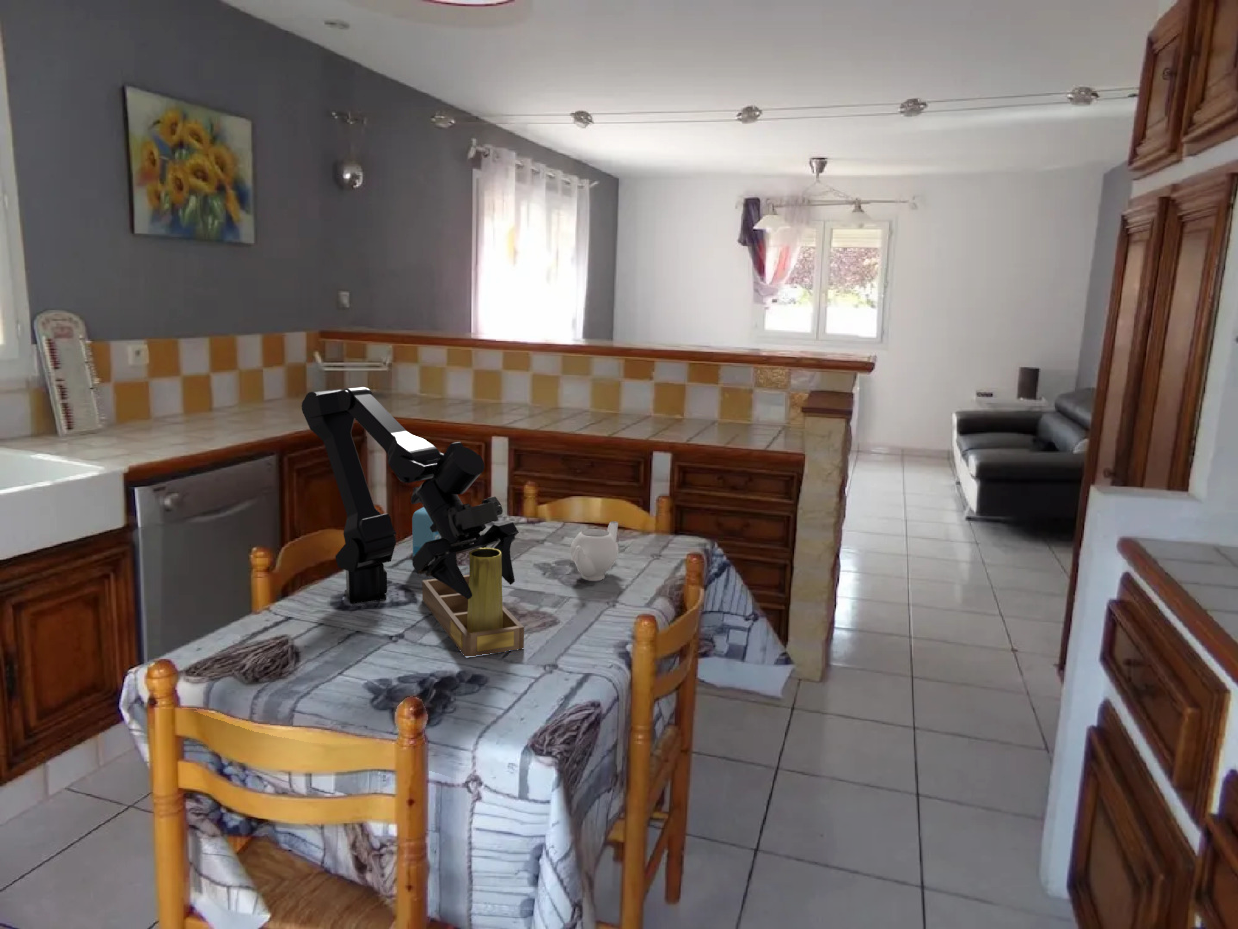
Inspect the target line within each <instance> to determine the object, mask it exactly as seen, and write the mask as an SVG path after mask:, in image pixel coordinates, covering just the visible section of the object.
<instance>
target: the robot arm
mask: <svg viewBox="0 0 1238 929" xmlns="http://www.w3.org/2000/svg"><path fill="white" fill-rule="evenodd" d="M301 412H302V414H303V417H304V419H305V420H306V423H307V425H308V427H309V430H310V431H312V432H313V433H314V434H315V435H316V436H317V437H318V438H319V439H320V440H322V442H323V444H324V448H325V450H326V453H327V457H328V459H329V460H328V461H329V463H330V466H331V469H332V472H333V475H334V478H335V481H336V486H337V489H338V491H339V494H340V496H341V497H340V498H341V501H342V504H343V507H344V509H345V513H346V516H347V517H346V519H345V520H346V522H345V525H344V530H343V538H344V545H342V546H341V548H340V550H338V552H337V553H336V554H335V558H334V559H335V561H336V566H337V568H339V569H341V570H345V582H346V583H345V586H346V587H345V588H346V589H344V594H345V596H346V599H347V600H348V602H349V604H350V605H351V604H353V605H354V604H361V603H368V602H369V603H370V602H376V601H377V602H378V601H385V600H387V593H388V572H387V570H386V569H385V568H384V567H385V565H384V564H385V563H390V562H392V558H393V555H394V552H395V547H396V545H397V540H396V535H397V532H396V530H395V529H394V527H393V523H392V522H393V521H392V518H391V516H390V514H389V513H381V512H380V511H379V510H378V509H377V508H376V507H375V504H374V500H373V499H372V495H371V492H370V489H369V485H368V482H367V480H366V476H365V473H364V470H363V467H362V464H361V461H360V458H359V454H358V451H357V449H356V445H355V442H354V439H353V435H352V430H353V427H354V421H356V422H357V423H358V424H359V425H360V426H361V427H362V428H363V429H364V430H365V431H366V432H367V433H368V434H369V436H371V437H372V438H373V439H374V441H375V442H376V443H377V444H378V445H379V446H380V447H381V448H382V449H383V450H384V451H385V453H386V455H387V464H388V466H389V468H390V469H391V470H392V472H393V473H394V474H395V476H396V477H397V479H398V480H399V481H400V482H401V483H404V484H408V483H415V482H419V481H423V482H422V483H421V485H420V486H416V487H413V488H412V495H411V497H410V503H411V505H415V504H420V503H421V504H422V506H423V507H424V508H425V510H426V512H427V513H428V515H429V517H430V519H431V520H432V522H433V524H432V526H431V527H430V529H431V531H432V533H433V532H437V531H438V533H439V534H440V536H441V538H440V539H436V540H432V541H429V542H425V543H424V545H423V546H422V547H421V548H420V549H419V550H418V552H417V553H416V554H415V555H414V556H413V555H412V561H411V562H412V567H413V569H414V571H415V572H416V574H417V575H421V574H425V577H432V579H437V580H439V581H440V582H442V583H444V584H446V585H447V586H449V587H450V588H452V589H453V590H455V591H456V592H458V593H459V594H461V595H462V596H464V597H465V598H467V599H470V598H471V597H472V592H471V590H470V588H469V586H468V584H467V582H466V580H465V578H464V576H463V573H462V571H461V569H460V568H459V566H458V559H457V555H459V554H462V553H467V552H470V551H472V550H474V549H478V548H494V549H498V550H500V551H501V554H502V579H504V580H505V582H507V583H508V585H513V584H514V583H515V580H516V579H515V574H514V570H513V569H514V568H513V563H512V558H511V545H512V543H513V542H514V541H515V539H516V536H518V534H519V530H518V528H517V527H516V525H515V523H514V521H510V520H506V521H501V522H499V516H501V515H502V514H503V511H504V510H503V506H502V503H501V502H500V501H499V499H498V498H497V496H490V497H487V498H486V499H482V502H481V504H477V505H474V506H472V505H471V504H469V503H465V504H463V502H462V500H461V498H460V497H459V495H463V494H465V493H466V491H467V490H468V489H469V488H470V487H471V486H472V484H473V483H474V482H475V481H476V480H477V479H478V478H479V477H480V475H482V473H483V472H484V470H485V463H484V462H485V461H484V460H483V458H482V456H481V455H480V454H479V453H477V452H476V451H474V450H473V449H471V448H468V447H467V446H465V445H464V444H463V443H462V442H461V441H457V442H451V443H450V444H449V446H448V447H447V448H446V451H444V453H443V452H441V451H439V449H438V448H437V447H436V446H435V445H434V444H432V443H431V442H429V441H427V439H424V438H423V437H419V436H416V435H414V434H412V433H410V432H409V431H407V430H406V429H405V427H403V425H401V423H400V422H398V420H397V419H396V418H395V417H394V416H393V415H392V414H391V413H390V412H389V411H388V410H387V409H386V408H385V407H384V406H383V405H382V404H381V403H380V402H379V400H377V399H376V398H375V397H374V394H373V392H372V391H371V389H369V388H368V387H365V386H358V387H346V388H344V389H339V388H338V389H329V390H328V389H327V390H316V391H309V392H307V394H306V395H305V396H304V399H303V400H302V402H301ZM493 522H495V524H494V523H493ZM497 522H498V523H497ZM489 523H493V524H492V526H491V527H490V528H489V529H488V530H487V531H486V532H485V533H484V534H481V532H483V531H485V530H486V528H487V526H486V524H489Z"/></svg>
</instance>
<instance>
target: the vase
mask: <svg viewBox="0 0 1238 929" xmlns="http://www.w3.org/2000/svg"><path fill="white" fill-rule="evenodd" d="M468 556H469V566H468V567H469V572H468V573H469V574H468V575H469V588H470V590H471V592H472V597H471V598H470V599H468V612H467V631H468V632H469V633H475V632H481V631H488V630H495V629H501V628H503V610H502V605H503V577H502V554H501V551H500V550H498V549H494V548H482V547H480V548H477V549H473V550H470V551H468Z"/></svg>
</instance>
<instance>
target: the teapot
mask: <svg viewBox="0 0 1238 929" xmlns="http://www.w3.org/2000/svg"><path fill="white" fill-rule="evenodd" d="M618 527H619V522H618V521H610V522H609V524H608V526H607V529H606V530H605V529H600V528H588V529H583V530H581V531H579V533H577V535H576V536H575V538H574V539H573V540H572V542H571V544H570V555H571V559H570V562H573V563H574V564H575V566H576V569H577V571H578V572H579V574H581V579H583V580H585V581H589V582H598V581H602V579H603V580H604V579H605V578H606V573H607V572H608V571H609V570H611V568H612V567H613V565H614V564H615V562H616V561H617V558H618V554H619V549H620V548H619V545H618V543H617V536H618V535H617V534H618Z"/></svg>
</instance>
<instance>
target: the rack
mask: <svg viewBox="0 0 1238 929" xmlns="http://www.w3.org/2000/svg"><path fill="white" fill-rule="evenodd" d="M462 575H463V574H462ZM463 576H464V578H465V580H466V582H467V584H468V586H469V574H465V575H463ZM421 583H422V588H421V589H422V593H421V594H422V597H421V600H422V602H423V603H424V604H425V606H426V607H427V608H428V610H429V611H430V612H431V614H432V615H433V616H434V618H435V619H436V620H437V622H438V623H439V624H440V626H441V627H442V629H443V630H444V632H445V633H446V635H447V636H448V637H449V638H450V639H451V641H452V642H453V644H454V645H455V644H456V645H455V646H456V648H457V647H458V648H457V649H458V650H459V651H460V650H461V652H462V653H463V654H464V656H476V655H482V654H490V653H498V652H504V653H506V652H505V651H509V650H517V649H522V648H524V649H525V626H524V625H523V624H522V623H521V622H520V621H519V620H518V619H517V618H516V617H515V616H514V615H513V613H511V612H510V611H509V610H508V608H507V607H506V606H504V604H502V610H503V628H501V629H495V630H488V631H481V632H475V633H469V632H468V631H467V612H468V599H467V598H465V597H464V596H462V595H461V594H459V593H458V592H456V591H455V590H453V589H452V588H450V587H449V586H447V585H446V584H444V583H442V582H440V581H439V580H437V579H435V578H432V579H423V580H422V582H421ZM517 651H518V650H517ZM461 652H460V653H461ZM462 653H461V654H462ZM463 654H462V655H463ZM498 654H499V653H498ZM464 656H463V657H464Z"/></svg>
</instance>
